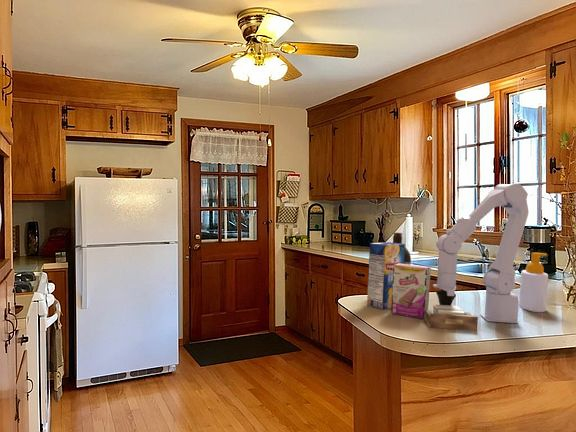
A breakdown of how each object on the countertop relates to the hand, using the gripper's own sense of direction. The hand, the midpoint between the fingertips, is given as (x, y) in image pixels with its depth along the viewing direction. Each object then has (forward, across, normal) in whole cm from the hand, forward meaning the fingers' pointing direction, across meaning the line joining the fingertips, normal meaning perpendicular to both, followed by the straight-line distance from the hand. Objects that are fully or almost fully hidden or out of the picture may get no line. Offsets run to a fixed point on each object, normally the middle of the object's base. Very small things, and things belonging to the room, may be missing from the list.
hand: (444, 313), depth 153 cm
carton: (+1, +6, 0) cm, 6 cm away
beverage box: (+2, -13, -18) cm, 22 cm away
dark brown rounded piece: (+2, -27, -13) cm, 30 cm away
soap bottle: (+2, -24, +36) cm, 43 cm away
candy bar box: (+2, -1, -11) cm, 11 cm away
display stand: (+1, +8, 0) cm, 8 cm away
